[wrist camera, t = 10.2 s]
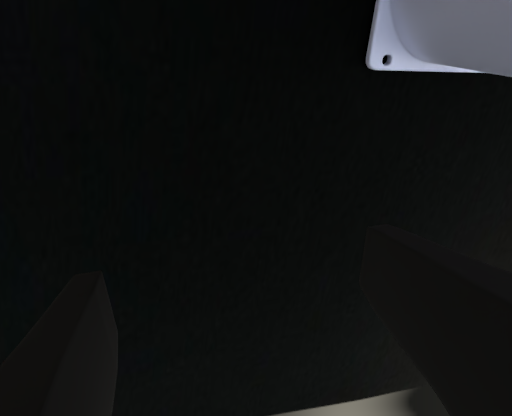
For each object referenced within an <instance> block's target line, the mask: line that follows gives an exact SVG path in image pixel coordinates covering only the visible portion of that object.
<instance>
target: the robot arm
mask: <svg viewBox="0 0 512 416" xmlns="http://www.w3.org/2000/svg"><path fill="white" fill-rule="evenodd" d="M385 55H387V61H386V63H385V64H383V63H382V59H383V57H384V56H385ZM366 65H367V67H368V68H369V69H373V70H389V71H430V72H470V73H491V74H497V75H503V76H508V77H512V0H376V4H375V9H374V15H373V20H372V26H371V32H370V37H369V43H368V49H367V54H366ZM359 285H360V287H361V289H362V290H363V292H364V294H365V296H366V298H367V300H368V301H369V303H370V305H371V306H372V308H373V310H374V311H375V313H376V314H377V316H378V317H379V319H380V320H381V321H382V323H383V324H384V325H385V327H386V328H387V329H388V331H389V332H390V333H391V335H392V336H393V337H394V338H395V340H396V341H397V342H398V344H399V345H400V346H401V348H402V349H403V350H404V351H405V353H406V354H407V355H408V357H409V358H410V359H411V361H412V362H413V363H414V364H415V366H416V367H417V368H418V370H419V371H420V372H421V374H422V375H423V376H424V377H425V379H426V380H427V382H428V383H429V384H430V386H431V387H432V389H433V390H434V391H435V393H436V394H437V396H438V397H439V399H440V400H441V402H442V404H443V405H444V406H445V408H446V410H447V412H448V413H449V415H450V416H512V273H511V272H509V271H506V270H503V269H500V268H498V267H495V266H492V265H490V264H487V263H484V262H482V261H479V260H476V259H474V258H471V257H469V256H466V255H464V254H461V253H459V252H456V251H454V250H451V249H449V248H447V247H444V246H442V245H439V244H437V243H435V242H432V241H430V240H427V239H425V238H423V237H420V236H418V235H415V234H413V233H410V232H408V231H405V230H402V229H400V228H397V227H394V226H391V225H388V224H383V225H377V226H371V227H367V231H366V238H365V245H364V251H363V258H362V265H361V271H360V278H359ZM117 365H118V331H117V327H116V323H115V319H114V316H113V312H112V308H111V304H110V300H109V297H108V293H107V289H106V285H105V281H104V278H103V274H102V270H101V271H95V272H89V273H83V274H77V275H74V276H73V278H72V279H71V280H70V281H69V282H68V284H67V285H66V286H65V287H64V289H63V290H62V291H61V293H60V294H59V295H58V296H57V298H56V299H55V300H54V302H53V303H52V304H51V305H50V307H49V308H48V309H47V310H46V312H45V313H44V314H43V316H42V317H41V318H40V319H39V321H38V322H37V323H36V324H35V325H34V327H33V328H32V329H31V330H30V331H29V333H28V334H27V335H26V336H25V338H24V339H23V340H22V341H21V342H20V344H19V345H18V346H17V347H16V348H15V349H14V351H13V352H12V353H11V354H10V355H9V356H8V357H7V358H6V360H5V361H4V362H3V363H2V364H1V365H0V416H112V409H113V401H114V394H115V386H116V378H117Z"/></svg>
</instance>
